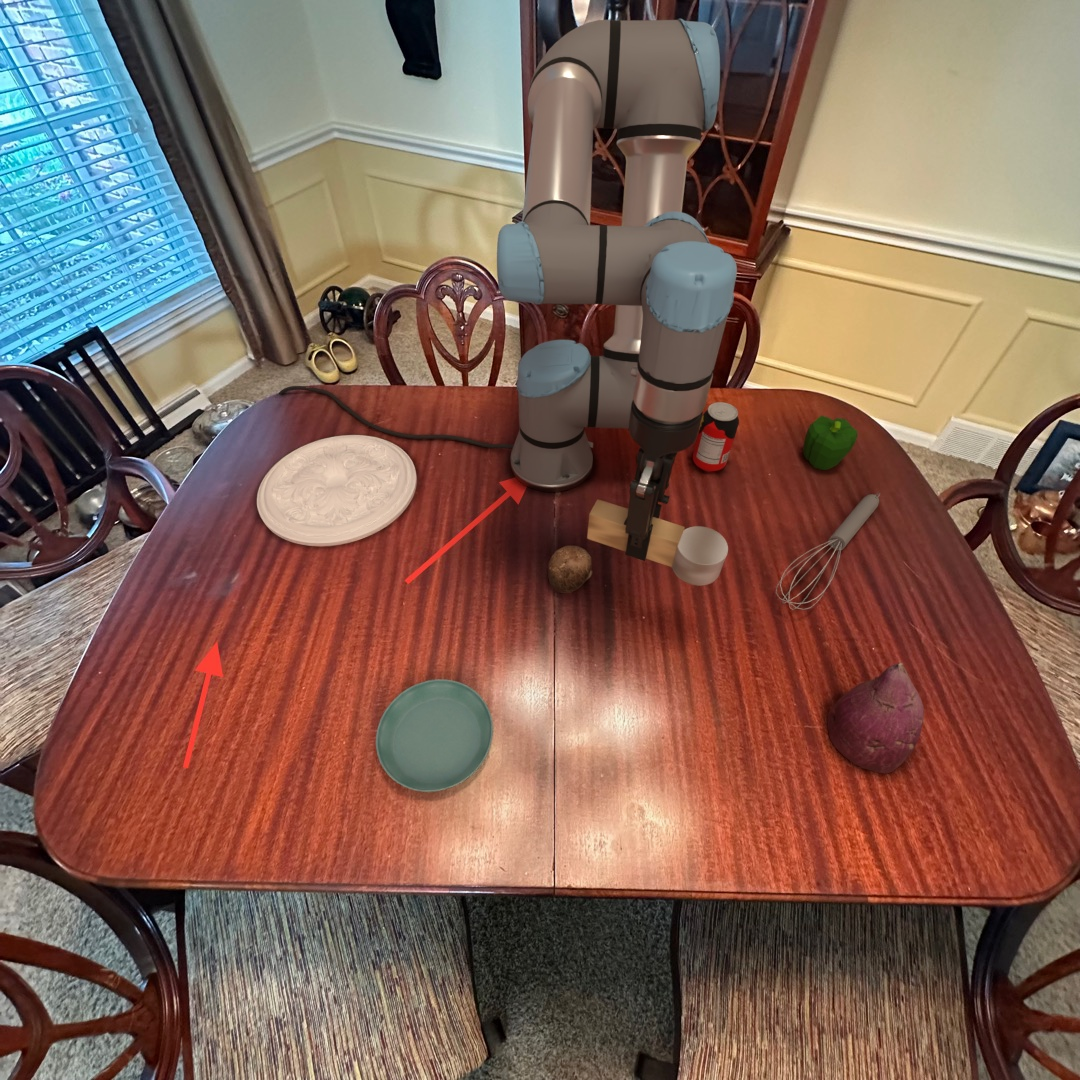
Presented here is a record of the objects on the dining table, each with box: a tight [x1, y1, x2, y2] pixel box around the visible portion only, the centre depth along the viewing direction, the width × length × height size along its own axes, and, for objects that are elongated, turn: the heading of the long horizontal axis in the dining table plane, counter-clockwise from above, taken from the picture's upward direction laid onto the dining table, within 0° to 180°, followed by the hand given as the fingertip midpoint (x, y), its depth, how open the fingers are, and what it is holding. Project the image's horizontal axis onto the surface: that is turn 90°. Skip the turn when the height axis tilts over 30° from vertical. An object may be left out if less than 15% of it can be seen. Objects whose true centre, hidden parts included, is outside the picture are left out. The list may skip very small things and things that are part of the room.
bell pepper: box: [802, 415, 858, 471], centre depth 110 cm, size 8×8×10 cm
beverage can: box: [692, 401, 740, 472], centre depth 108 cm, size 6×6×12 cm
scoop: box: [586, 499, 729, 587], centre depth 79 cm, size 18×6×5 cm, turn 66°
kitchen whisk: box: [775, 492, 881, 611], centre depth 96 cm, size 6×34×6 cm, turn 137°
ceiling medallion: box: [256, 434, 418, 547], centre depth 108 cm, size 28×28×3 cm
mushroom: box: [546, 545, 593, 594], centre depth 93 cm, size 8×8×6 cm
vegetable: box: [826, 662, 925, 774], centre depth 75 cm, size 10×10×15 cm
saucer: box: [375, 678, 494, 793], centre depth 77 cm, size 15×15×3 cm
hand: (640, 545), depth 81 cm, fingers closed on scoop, 3 cm apart
